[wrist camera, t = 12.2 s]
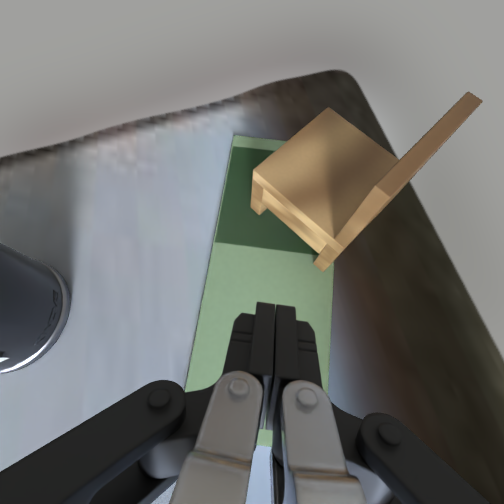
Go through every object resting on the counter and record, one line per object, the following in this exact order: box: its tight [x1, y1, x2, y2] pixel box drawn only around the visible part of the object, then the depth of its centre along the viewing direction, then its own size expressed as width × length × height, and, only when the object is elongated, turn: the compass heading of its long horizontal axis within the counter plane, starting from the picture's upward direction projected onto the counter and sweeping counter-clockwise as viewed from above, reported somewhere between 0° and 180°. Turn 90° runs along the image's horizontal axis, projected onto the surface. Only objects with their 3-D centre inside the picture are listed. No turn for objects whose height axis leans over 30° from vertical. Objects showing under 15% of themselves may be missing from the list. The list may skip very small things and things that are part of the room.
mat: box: [185, 135, 334, 447], centre depth 28 cm, size 11×28×1 cm, turn 172°
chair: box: [251, 92, 482, 272], centre depth 23 cm, size 9×9×13 cm
